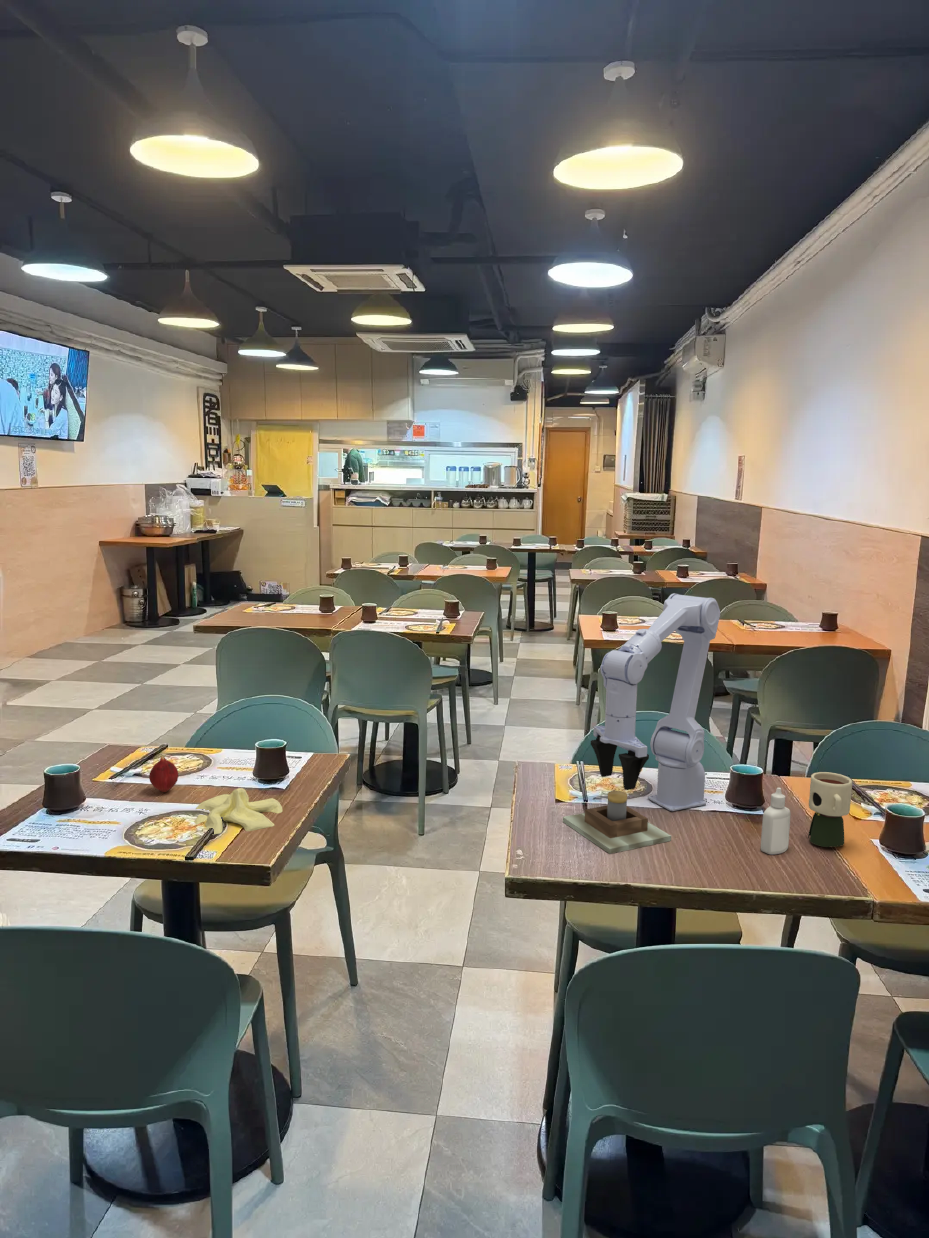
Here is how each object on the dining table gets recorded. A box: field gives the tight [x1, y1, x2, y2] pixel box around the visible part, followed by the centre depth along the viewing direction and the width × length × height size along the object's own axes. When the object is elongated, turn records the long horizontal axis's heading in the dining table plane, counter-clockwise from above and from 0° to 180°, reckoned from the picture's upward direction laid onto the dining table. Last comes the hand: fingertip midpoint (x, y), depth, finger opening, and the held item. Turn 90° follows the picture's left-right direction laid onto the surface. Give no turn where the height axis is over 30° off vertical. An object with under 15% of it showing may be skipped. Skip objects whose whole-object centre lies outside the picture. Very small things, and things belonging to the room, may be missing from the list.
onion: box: [148, 755, 179, 793], centre depth 179 cm, size 6×6×8 cm
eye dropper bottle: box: [760, 787, 791, 855], centre depth 154 cm, size 4×6×12 cm
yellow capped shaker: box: [607, 790, 628, 821], centre depth 162 cm, size 4×4×8 cm
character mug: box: [807, 771, 853, 848], centre depth 156 cm, size 11×7×13 cm, turn 172°
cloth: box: [193, 787, 284, 835], centre depth 166 cm, size 22×19×6 cm
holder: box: [562, 804, 672, 855], centre depth 162 cm, size 14×16×4 cm
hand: (617, 782), depth 161 cm, fingers open, 7 cm apart
